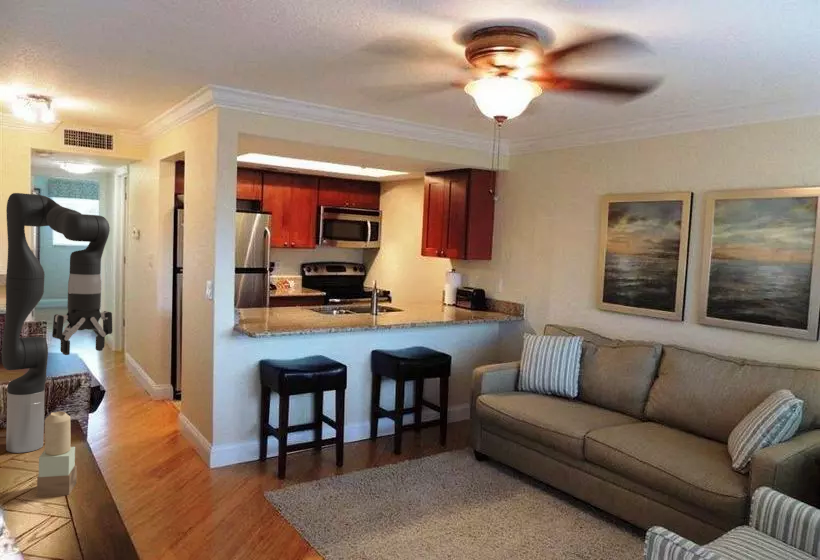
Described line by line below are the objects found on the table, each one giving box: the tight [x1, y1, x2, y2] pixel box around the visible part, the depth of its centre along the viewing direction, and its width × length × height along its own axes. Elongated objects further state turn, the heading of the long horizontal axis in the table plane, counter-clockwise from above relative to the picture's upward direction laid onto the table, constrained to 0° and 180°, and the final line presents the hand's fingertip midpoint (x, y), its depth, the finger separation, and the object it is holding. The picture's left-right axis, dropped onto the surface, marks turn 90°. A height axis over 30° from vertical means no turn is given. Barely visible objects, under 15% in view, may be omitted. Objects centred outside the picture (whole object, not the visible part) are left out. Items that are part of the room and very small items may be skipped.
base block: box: [36, 464, 78, 498], centre depth 145 cm, size 7×7×5 cm
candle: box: [44, 410, 72, 455], centre depth 144 cm, size 6×6×10 cm
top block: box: [38, 446, 76, 477], centre depth 144 cm, size 6×6×5 cm
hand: (82, 352), depth 150 cm, fingers open, 8 cm apart
